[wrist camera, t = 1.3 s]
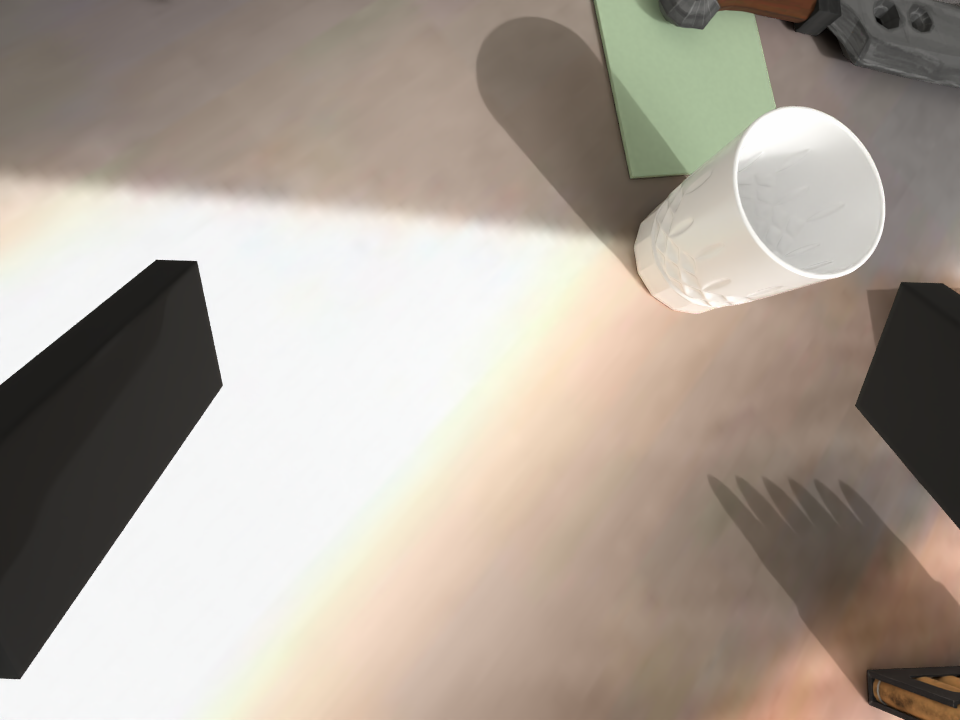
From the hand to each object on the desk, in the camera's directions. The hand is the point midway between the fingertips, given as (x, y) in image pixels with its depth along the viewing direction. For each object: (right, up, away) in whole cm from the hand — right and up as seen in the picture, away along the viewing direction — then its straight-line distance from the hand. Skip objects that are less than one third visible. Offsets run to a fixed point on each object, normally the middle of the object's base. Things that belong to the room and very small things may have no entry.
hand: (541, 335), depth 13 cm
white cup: (+11, +5, +26) cm, 28 cm away
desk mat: (+11, +21, +28) cm, 36 cm away
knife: (+23, +22, +31) cm, 45 cm away
